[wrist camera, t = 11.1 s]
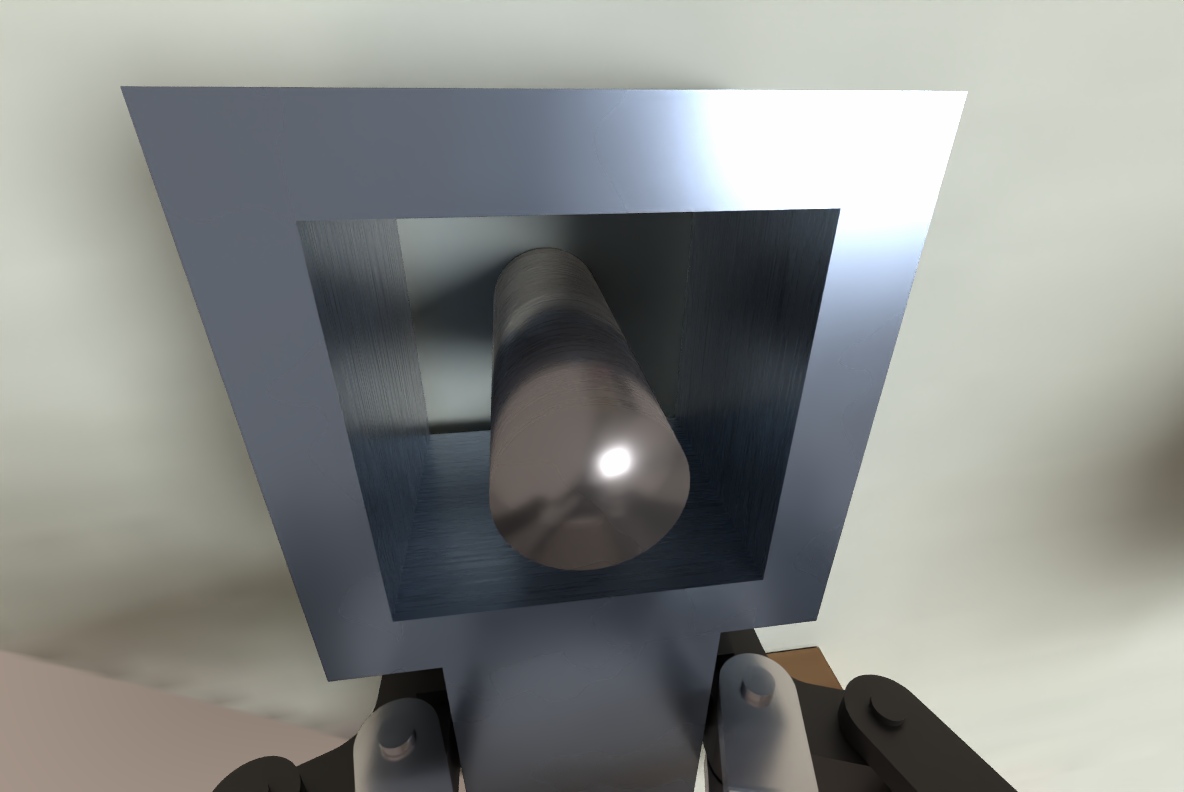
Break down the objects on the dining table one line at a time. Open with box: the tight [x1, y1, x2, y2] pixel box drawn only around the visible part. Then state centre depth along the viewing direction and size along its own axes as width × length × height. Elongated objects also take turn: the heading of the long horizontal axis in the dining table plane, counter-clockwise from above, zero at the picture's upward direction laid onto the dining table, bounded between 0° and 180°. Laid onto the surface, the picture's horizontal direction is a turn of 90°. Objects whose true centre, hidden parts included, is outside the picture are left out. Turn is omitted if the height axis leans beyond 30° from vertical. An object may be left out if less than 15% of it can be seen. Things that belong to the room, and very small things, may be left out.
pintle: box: [489, 248, 690, 570], centre depth 8 cm, size 2×2×6 cm
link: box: [120, 86, 968, 792], centre depth 11 cm, size 20×7×4 cm, turn 0°
